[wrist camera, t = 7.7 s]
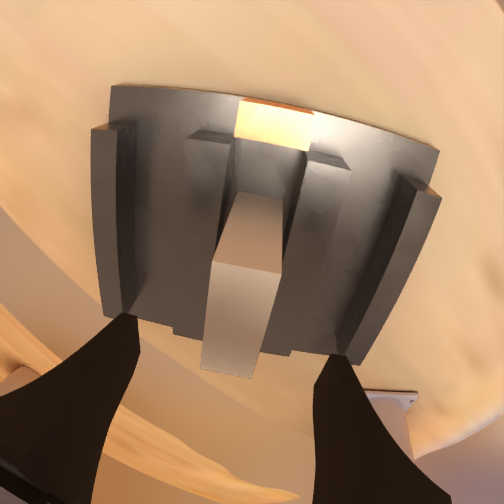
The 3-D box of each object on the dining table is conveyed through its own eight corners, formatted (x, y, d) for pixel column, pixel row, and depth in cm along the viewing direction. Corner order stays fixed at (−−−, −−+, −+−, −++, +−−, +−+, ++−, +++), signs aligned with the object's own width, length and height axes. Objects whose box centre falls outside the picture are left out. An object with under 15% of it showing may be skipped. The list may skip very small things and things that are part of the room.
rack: (348, 348, 24) (353, 383, 21) (120, 304, 23) (102, 334, 20) (432, 146, 15) (461, 163, 12) (119, 84, 15) (86, 88, 12)
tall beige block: (261, 288, 20) (251, 378, 14) (223, 281, 20) (200, 368, 14) (282, 199, 17) (281, 274, 11) (238, 191, 17) (211, 261, 11)
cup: (8, 369, 33) (-23, 419, 25) (15, 349, 30) (-23, 407, 21) (51, 403, 36) (25, 455, 27) (64, 388, 32) (34, 450, 24)
